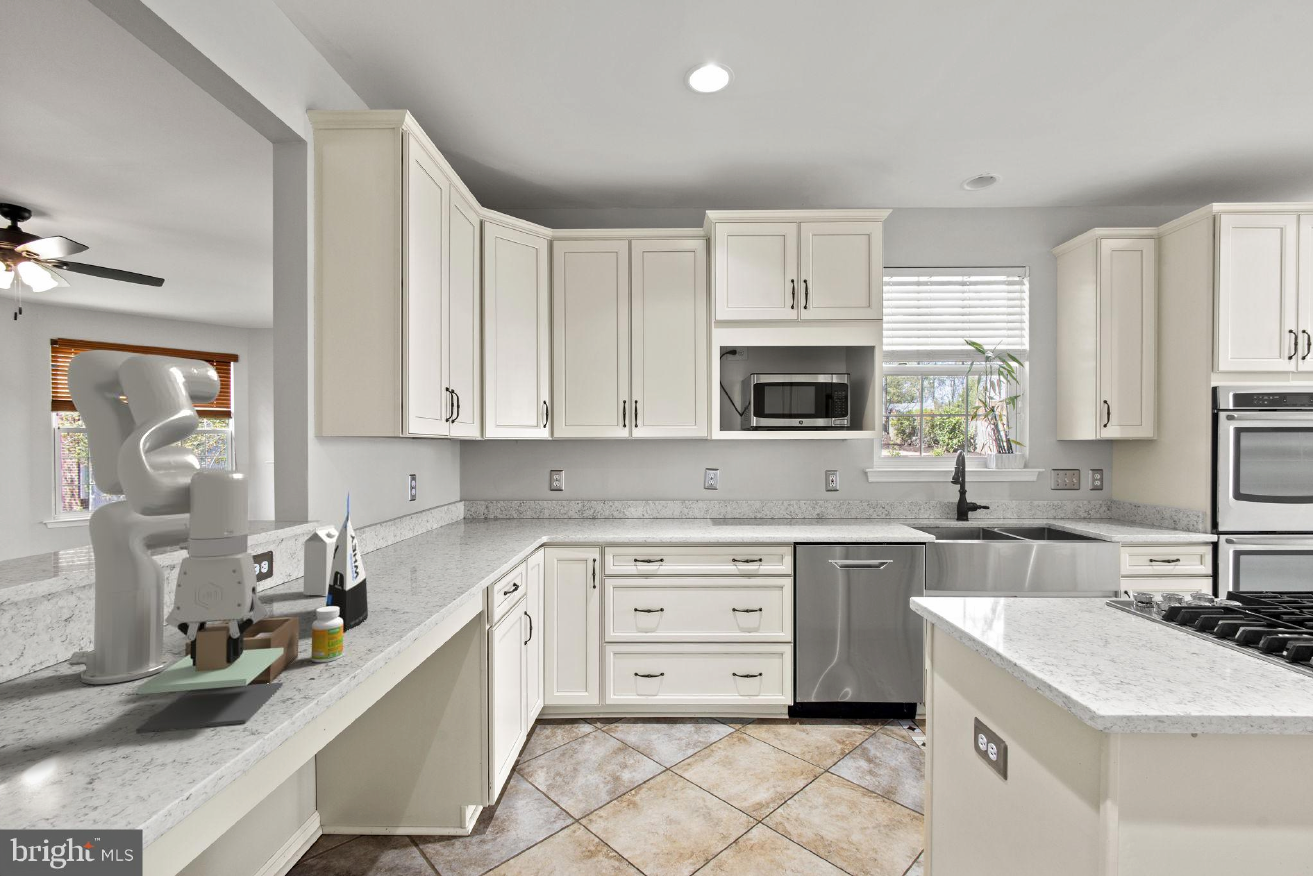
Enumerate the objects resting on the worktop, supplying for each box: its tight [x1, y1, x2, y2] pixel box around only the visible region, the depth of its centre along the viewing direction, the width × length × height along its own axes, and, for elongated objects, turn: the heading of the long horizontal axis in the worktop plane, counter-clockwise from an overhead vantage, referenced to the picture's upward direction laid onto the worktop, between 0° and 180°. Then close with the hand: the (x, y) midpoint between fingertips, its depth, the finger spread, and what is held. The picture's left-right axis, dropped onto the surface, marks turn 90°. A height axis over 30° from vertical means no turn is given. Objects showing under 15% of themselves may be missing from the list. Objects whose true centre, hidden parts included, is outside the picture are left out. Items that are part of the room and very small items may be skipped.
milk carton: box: [303, 524, 339, 596], centre depth 164 cm, size 7×7×19 cm
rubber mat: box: [135, 682, 284, 734], centre depth 93 cm, size 14×14×1 cm
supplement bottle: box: [310, 606, 344, 663], centre depth 114 cm, size 5×5×10 cm
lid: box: [136, 623, 283, 695], centre depth 93 cm, size 14×14×7 cm
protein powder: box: [325, 491, 369, 633], centre depth 141 cm, size 10×24×30 cm, turn 27°
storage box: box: [184, 616, 300, 685], centre depth 107 cm, size 13×13×8 cm
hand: (217, 660), depth 93 cm, fingers closed on lid, 4 cm apart
